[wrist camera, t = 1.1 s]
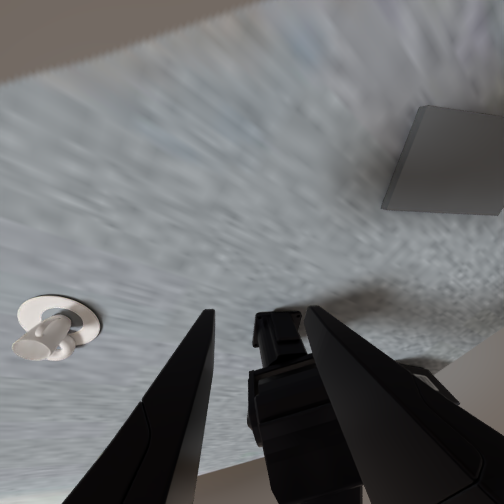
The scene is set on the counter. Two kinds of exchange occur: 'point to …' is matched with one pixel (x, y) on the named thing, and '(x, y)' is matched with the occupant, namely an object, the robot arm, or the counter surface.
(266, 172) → the counter surface
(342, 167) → the counter surface
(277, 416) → the robot arm
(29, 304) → the teacup and saucer
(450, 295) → the counter surface
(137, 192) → the counter surface
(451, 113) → the mat
